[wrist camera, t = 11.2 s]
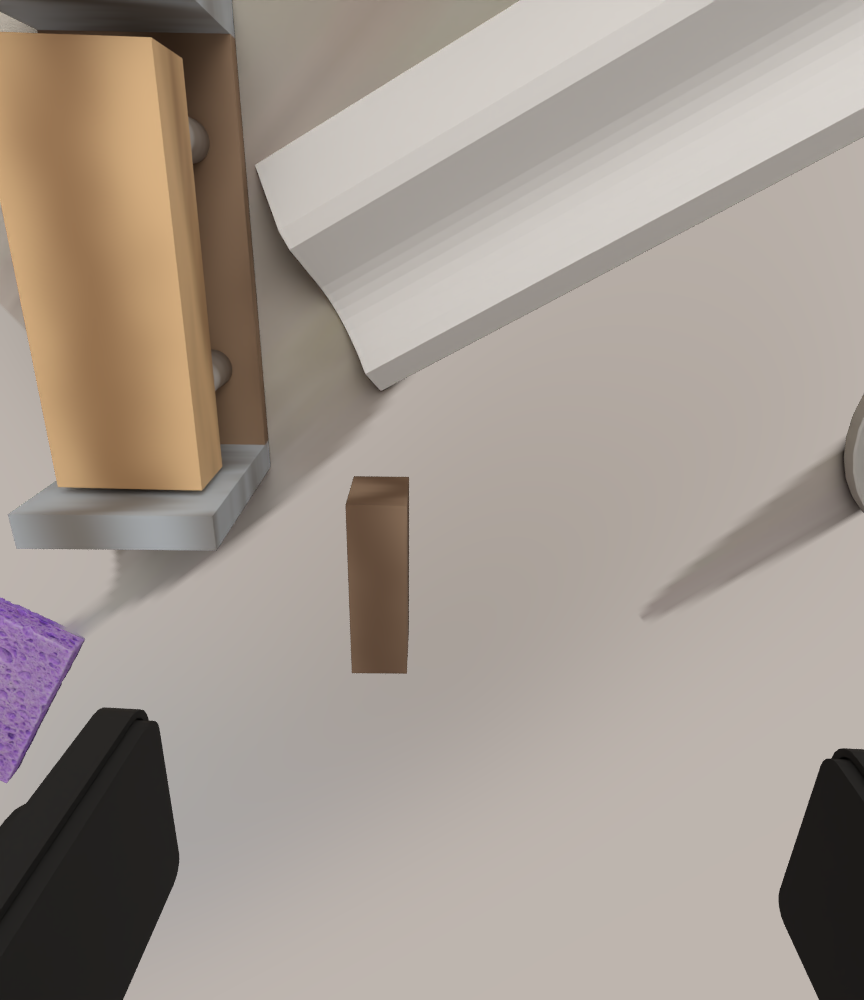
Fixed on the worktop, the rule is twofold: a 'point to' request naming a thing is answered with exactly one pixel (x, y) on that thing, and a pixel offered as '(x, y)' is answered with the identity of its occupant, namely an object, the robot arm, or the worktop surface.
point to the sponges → (28, 677)
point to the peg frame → (228, 287)
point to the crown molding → (554, 157)
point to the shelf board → (109, 258)
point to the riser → (378, 573)
